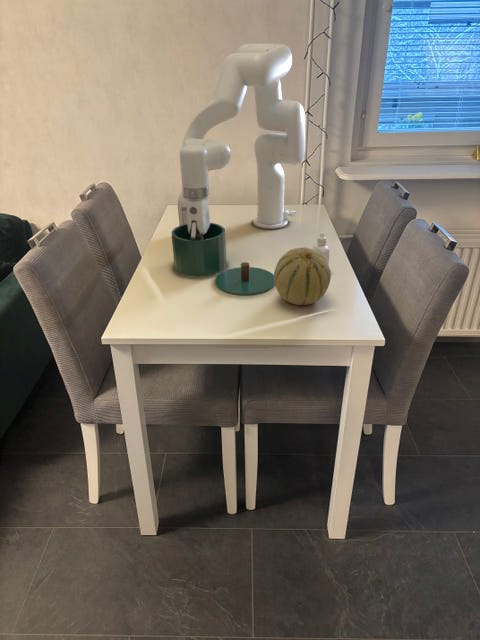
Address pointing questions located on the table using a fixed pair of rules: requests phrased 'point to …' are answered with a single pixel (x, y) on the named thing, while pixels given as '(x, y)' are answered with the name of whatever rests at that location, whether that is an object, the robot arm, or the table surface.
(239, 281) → the tin lid
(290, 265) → the cantaloupe
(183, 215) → the bath foam
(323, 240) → the eye dropper bottle
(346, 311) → the table surface
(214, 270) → the tin
